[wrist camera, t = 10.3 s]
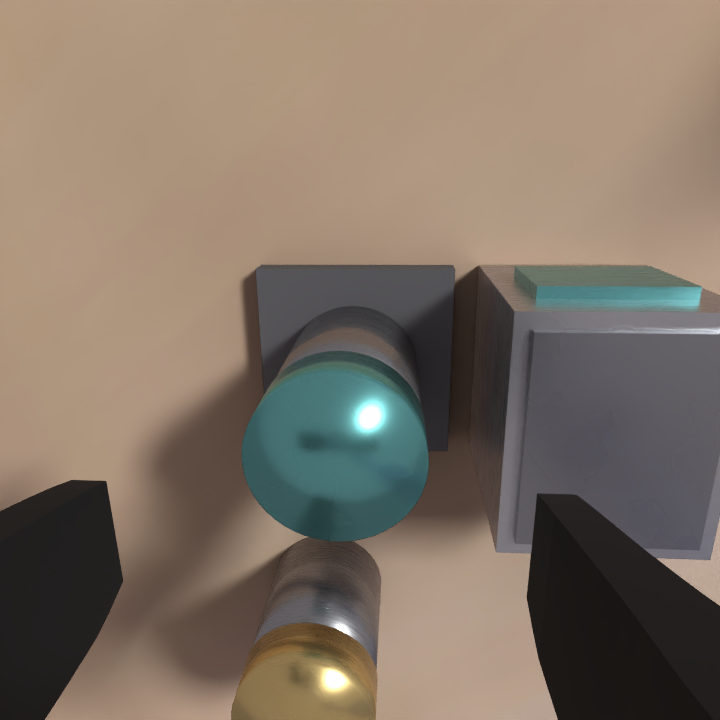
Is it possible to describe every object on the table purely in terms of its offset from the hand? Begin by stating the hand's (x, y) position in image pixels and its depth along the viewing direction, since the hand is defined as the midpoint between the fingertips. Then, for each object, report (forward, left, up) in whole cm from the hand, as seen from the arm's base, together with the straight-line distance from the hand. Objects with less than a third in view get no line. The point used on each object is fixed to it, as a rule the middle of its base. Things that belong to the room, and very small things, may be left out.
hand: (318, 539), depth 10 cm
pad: (0, 0, -10) cm, 10 cm away
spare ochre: (-9, +1, -10) cm, 13 cm away
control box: (0, -6, -10) cm, 12 cm away
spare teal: (0, 0, -9) cm, 9 cm away
